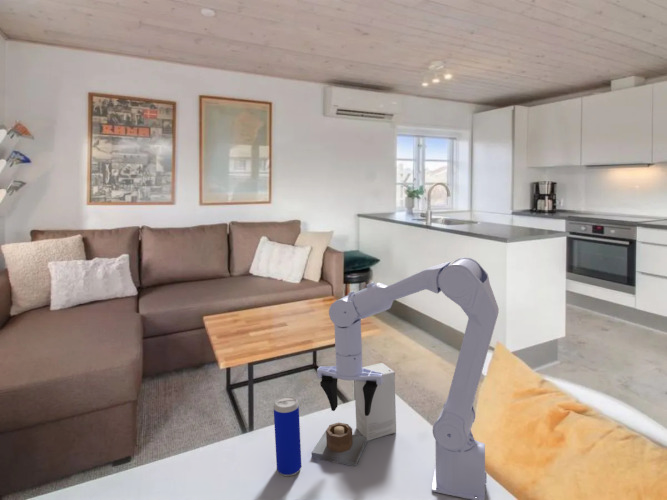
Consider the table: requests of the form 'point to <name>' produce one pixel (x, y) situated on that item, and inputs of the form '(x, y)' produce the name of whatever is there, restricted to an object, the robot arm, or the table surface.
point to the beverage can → (287, 435)
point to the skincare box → (377, 406)
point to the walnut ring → (339, 438)
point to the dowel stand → (344, 457)
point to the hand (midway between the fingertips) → (350, 411)
